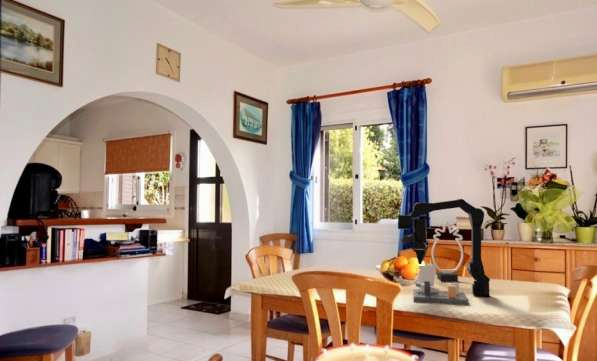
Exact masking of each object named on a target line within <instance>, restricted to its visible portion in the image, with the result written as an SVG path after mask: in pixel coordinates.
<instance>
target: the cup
mask: <svg viewBox="0 0 597 361" xmlns="http://www.w3.org/2000/svg"><path fill="white" fill-rule="evenodd" d="M423 263H424V262H423ZM424 264H425V266H419V269H420V271H419V276H418V279H417V282H420V283H423V284H424V281H429V282H430V286H434V287H435V279H436V274H437V271H436V270H437V269H436V266H435V265H434V263H426V262H425V263H424ZM418 290H424V288H420V287H418Z"/></svg>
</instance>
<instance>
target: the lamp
mask: <svg viewBox="0 0 597 361" xmlns="http://www.w3.org/2000/svg"><path fill="white" fill-rule="evenodd" d="M446 225H447V226H446ZM446 227H448V232H449V234H451V233H452V235H453V236H456V238H455V241H456V243H457V244H458V245H457V246H459V251H460V257H459V258H460V259H459V262H458V263H457V265H456V267H455V268H452V269H449V268H447V269H443V268H440V267H439V266H438V264H437V263H436V260H435V257H434V255H435V254H434V251H435V247H436V245H437V243H438V242H439V241H440V239H439V238H438V237H440V236H441V233H445V232H446ZM438 231H439V232H438ZM459 231H460V230H459V228H458V227H453V228H452V226H451V223H449V222H448V221H444V222H443V224H442V229H441V228H435V229H434V232H435V233H436V234H433V236H432V237H433V240H434V242H433V244H432V247H431V251H430V253H431V260H432V264H434V265H435V269H436V270H439V271H436V275H437V276H436V279H437V280H438V281H440V282H443V283H444V282H446V283H447V282H449V283H451V282H459V280H458V279H459V278H458V277H459V274H457V273H456V271H457V270H459V269H460V267H461V265H462V263H463V260H464V249H463V246H462V243H461V242H460V241H463V235H461V234H459Z"/></svg>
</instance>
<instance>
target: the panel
mask: <svg viewBox="0 0 597 361" xmlns="http://www.w3.org/2000/svg"><path fill="white" fill-rule="evenodd" d="M424 285H425V289H424V290H420V289H415V288H414V289H412V291H413V292H412V293H413V295H412V296H413V302H414V303H428V304H429V303H431V304H432V303H434V304H444V305H445V304H449V305H451V304H452V305H466V306H469V298H468V297H467V295H466V293H465V291H459V294H456V298H449V297H448V290H439V292H435V291H431V290H430V282H429V281H424Z"/></svg>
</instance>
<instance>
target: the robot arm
mask: <svg viewBox="0 0 597 361" xmlns="http://www.w3.org/2000/svg"><path fill="white" fill-rule="evenodd" d="M456 208H457V209H458V208H460V210H461V211H463V212H464V213H466V214H467V215H468V219H469V223H470V228H471V259H470V261H467V262H466V263H467V269H466V271H467V272H468V274H469V275H470V276H471V277H472V278H473V283H472V286H471V287H472V289H471V290H472V291H471V292H472V294H473V295H474V297H482V298H491V295H490V281H491V278H489V277H488V276H487V275H486V274H485V268H484V264H483V259H482V226H483V224H484V218H485V212H484V210H483V209H481V208H478V207H475V206H473V205H472V204H470V203H468V202H467V201H465V199H463V198H457V199H453V200H446V201H439V202H438V201H437V202H416V203H414V205H413V207H412V209H413V210H412V211H411V212H410V213H409V214H403V215H402V214H398V215H397V229H398V230H410V229H411V228H413V232H412V234H409V235H408V234H405V235H403V236H402V238H401V242H402V243H403V245H404V246H406V245H407V244H409V243H412V244H411V249H412V251H413V252H414V253H415V255H416V258H417V262H418V263H417V264H422V263H423V262H424V259H425V257H426V255H427V252H428V249H429V245H430V241H429V240H428V239H427V234H428V232H427V220H431V217H429V216H428V214H429V213H432V212H435V211H442V210H450V209H451V210H452V209H456Z"/></svg>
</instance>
